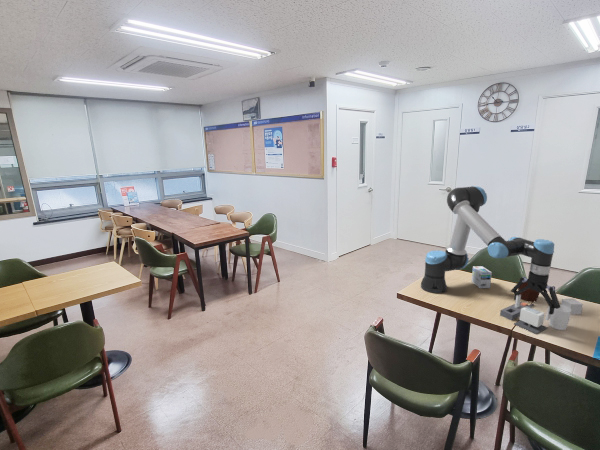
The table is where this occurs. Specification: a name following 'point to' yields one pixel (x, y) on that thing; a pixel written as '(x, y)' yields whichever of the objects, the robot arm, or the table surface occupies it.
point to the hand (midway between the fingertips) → (531, 312)
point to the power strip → (513, 311)
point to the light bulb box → (481, 277)
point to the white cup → (560, 318)
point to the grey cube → (573, 305)
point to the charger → (532, 316)
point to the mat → (531, 328)
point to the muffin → (528, 293)
